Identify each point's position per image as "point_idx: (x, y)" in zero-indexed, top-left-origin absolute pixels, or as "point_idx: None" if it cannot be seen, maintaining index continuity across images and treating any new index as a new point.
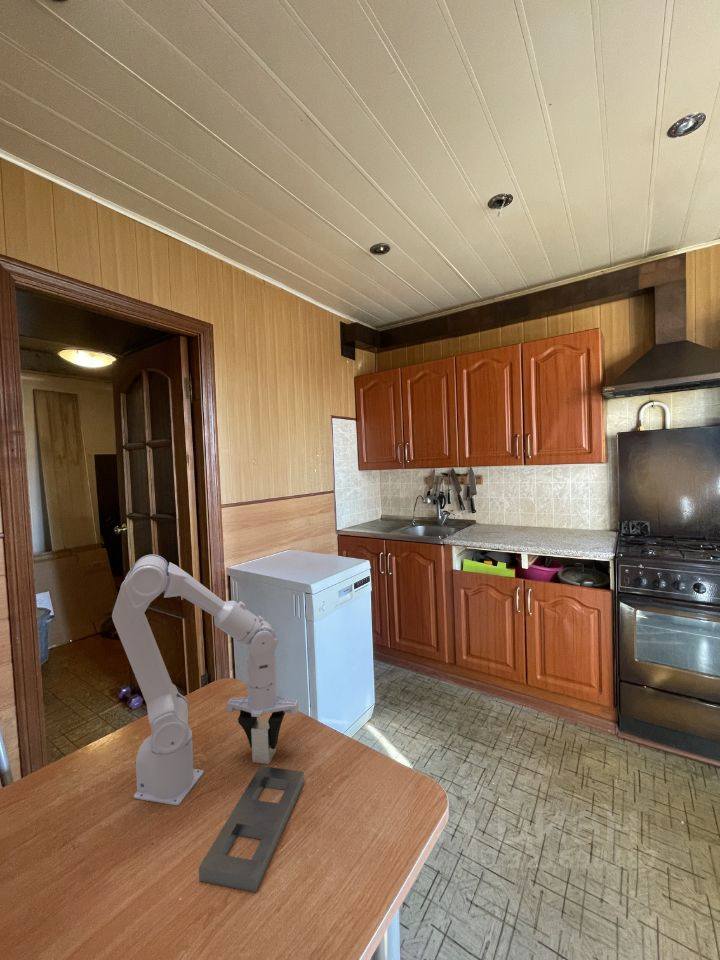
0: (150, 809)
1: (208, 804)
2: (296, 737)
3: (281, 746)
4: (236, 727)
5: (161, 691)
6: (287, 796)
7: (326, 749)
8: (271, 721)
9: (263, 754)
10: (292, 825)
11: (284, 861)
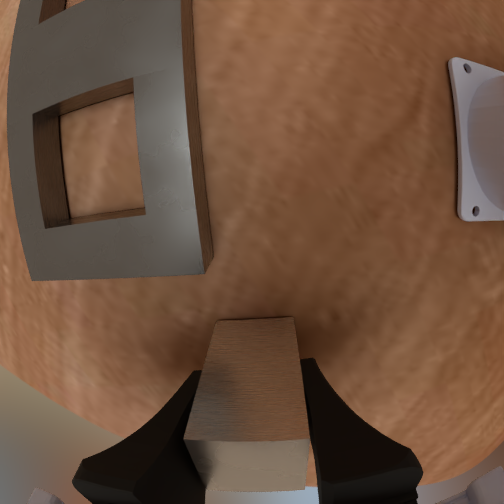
0: (501, 56)
1: (352, 73)
2: None
3: None
4: (418, 417)
5: None
6: (20, 155)
7: (86, 393)
8: (108, 484)
9: (235, 342)
10: None
11: None
